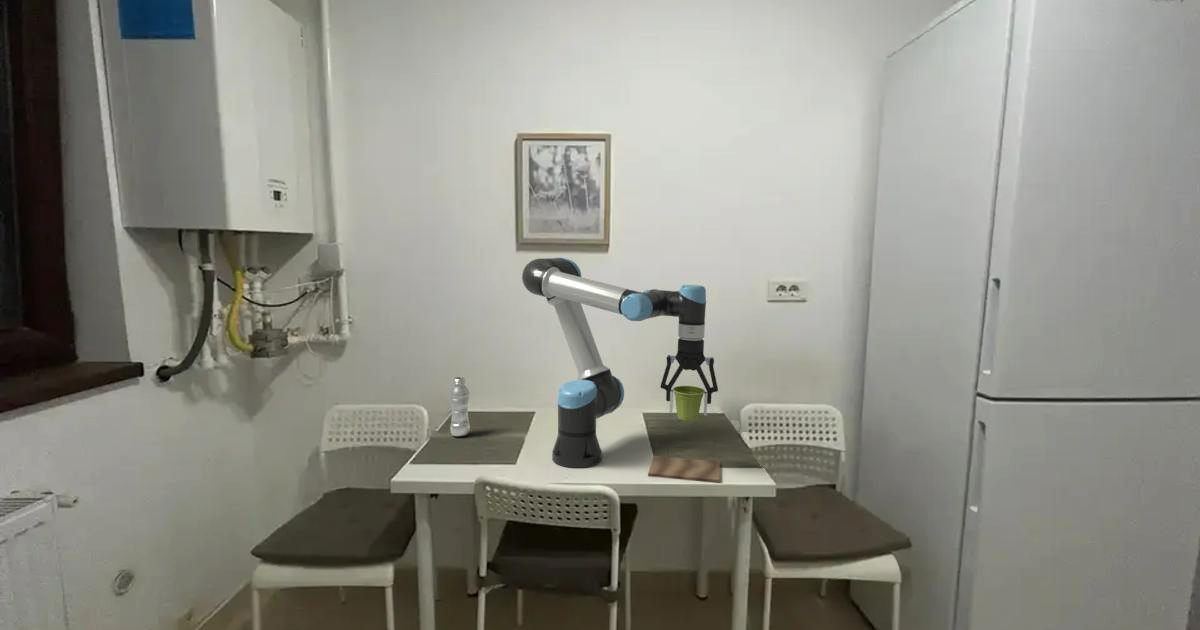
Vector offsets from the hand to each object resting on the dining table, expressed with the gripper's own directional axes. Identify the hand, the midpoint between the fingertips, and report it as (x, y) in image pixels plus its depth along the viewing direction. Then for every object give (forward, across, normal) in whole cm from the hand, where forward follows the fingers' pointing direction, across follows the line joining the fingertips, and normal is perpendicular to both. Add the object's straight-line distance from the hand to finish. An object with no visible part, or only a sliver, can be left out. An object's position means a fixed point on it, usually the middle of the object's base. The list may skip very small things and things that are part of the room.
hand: (687, 412), depth 168 cm
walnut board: (+16, 0, -3) cm, 17 cm away
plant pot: (+2, 0, 0) cm, 2 cm away
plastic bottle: (+17, -77, +12) cm, 80 cm away
